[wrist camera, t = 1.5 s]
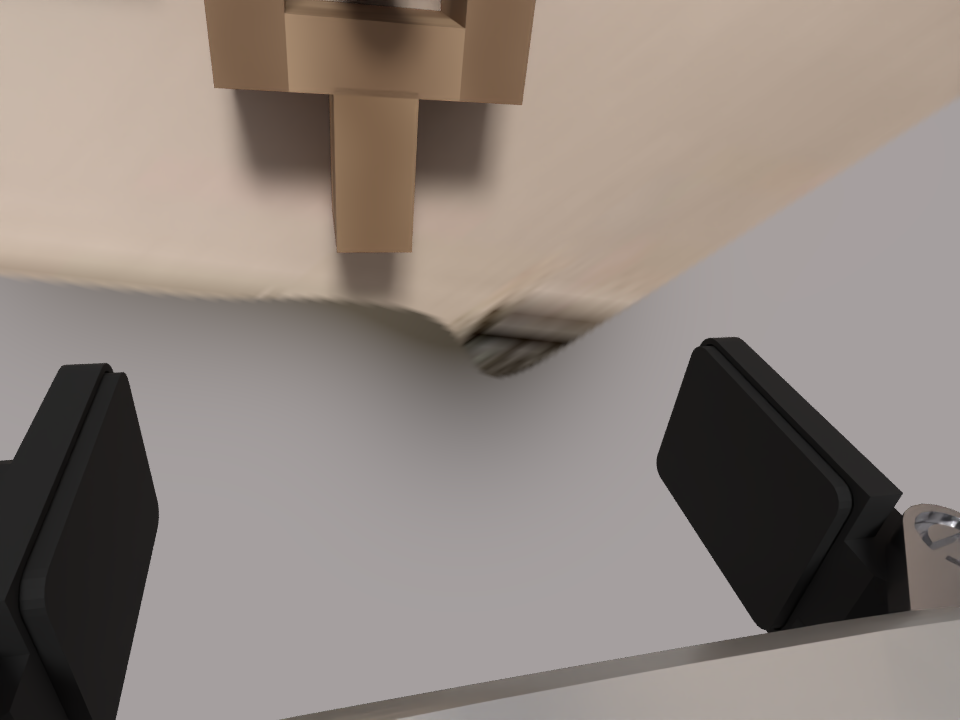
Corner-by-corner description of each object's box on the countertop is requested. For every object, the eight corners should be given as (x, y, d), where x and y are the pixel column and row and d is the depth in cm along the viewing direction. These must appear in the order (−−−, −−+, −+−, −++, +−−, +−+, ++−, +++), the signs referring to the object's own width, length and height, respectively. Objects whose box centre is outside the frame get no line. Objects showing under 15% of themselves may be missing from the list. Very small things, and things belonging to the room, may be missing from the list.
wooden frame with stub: (526, -259, 18) (574, -294, 15) (477, 210, 26) (502, 252, 23) (185, -327, 16) (158, -384, 13) (242, 206, 24) (233, 252, 21)
